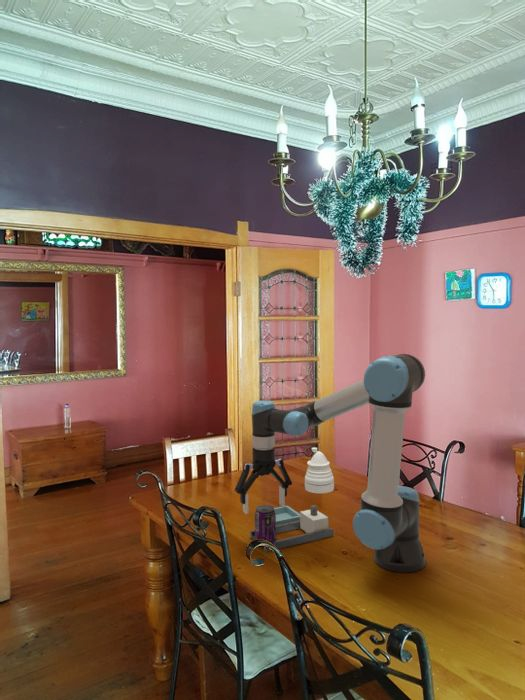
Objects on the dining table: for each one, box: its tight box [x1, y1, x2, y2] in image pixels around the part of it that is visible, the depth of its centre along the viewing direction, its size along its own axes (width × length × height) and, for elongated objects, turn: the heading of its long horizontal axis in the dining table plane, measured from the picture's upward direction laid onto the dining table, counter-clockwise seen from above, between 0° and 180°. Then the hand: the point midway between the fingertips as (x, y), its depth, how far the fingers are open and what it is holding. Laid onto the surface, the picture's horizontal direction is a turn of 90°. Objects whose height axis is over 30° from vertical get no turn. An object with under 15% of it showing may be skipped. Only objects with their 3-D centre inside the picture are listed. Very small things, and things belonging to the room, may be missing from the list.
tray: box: [274, 505, 300, 525], centre depth 191 cm, size 12×12×3 cm
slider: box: [299, 504, 329, 534], centre depth 181 cm, size 9×6×9 cm, turn 25°
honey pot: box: [304, 447, 335, 494], centre depth 227 cm, size 13×13×18 cm
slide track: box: [249, 520, 334, 553], centre depth 177 cm, size 12×26×2 cm, turn 115°
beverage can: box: [254, 504, 277, 542], centre depth 173 cm, size 7×7×12 cm
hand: (264, 509), depth 172 cm, fingers open, 13 cm apart
